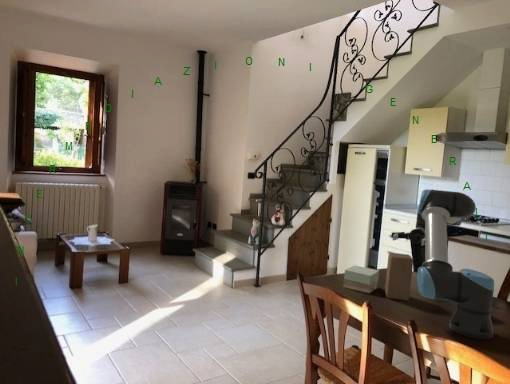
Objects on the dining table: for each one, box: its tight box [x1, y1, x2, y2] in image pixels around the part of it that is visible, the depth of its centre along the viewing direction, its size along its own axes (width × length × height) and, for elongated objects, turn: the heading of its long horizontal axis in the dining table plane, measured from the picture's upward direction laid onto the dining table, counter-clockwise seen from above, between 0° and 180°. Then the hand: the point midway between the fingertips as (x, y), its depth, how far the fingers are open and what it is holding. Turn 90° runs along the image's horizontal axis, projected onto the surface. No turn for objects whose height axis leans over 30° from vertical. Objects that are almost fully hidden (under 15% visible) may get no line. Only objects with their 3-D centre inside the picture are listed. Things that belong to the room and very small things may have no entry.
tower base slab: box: [343, 278, 379, 294], centre depth 207 cm, size 13×13×4 cm
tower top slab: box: [343, 264, 380, 285], centre depth 206 cm, size 13×13×4 cm
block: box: [384, 252, 414, 302], centre depth 195 cm, size 10×10×20 cm
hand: (407, 240), depth 202 cm, fingers open, 13 cm apart
